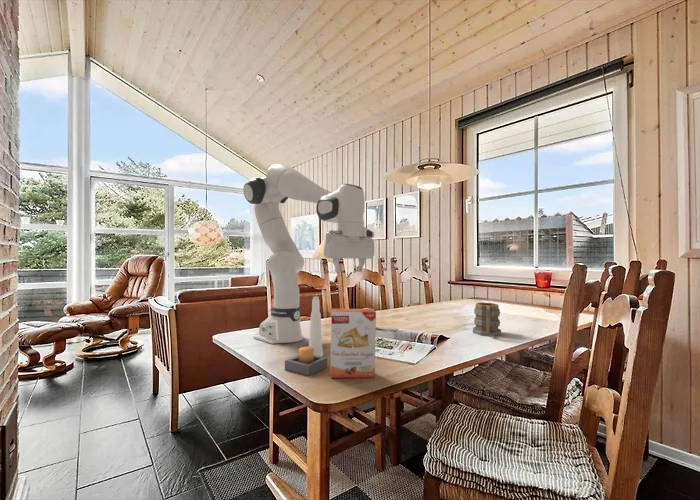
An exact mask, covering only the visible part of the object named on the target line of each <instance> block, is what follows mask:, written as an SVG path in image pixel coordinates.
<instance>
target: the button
mask: <svg viewBox="0 0 700 500" xmlns="http://www.w3.org/2000/svg"><path fill="white" fill-rule="evenodd" d="M298 355H299V362H301V363H311V362H313V361H314V348H312V347H309V346H301V347H300V348H298Z"/></svg>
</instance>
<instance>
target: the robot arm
mask: <svg viewBox="0 0 700 500" xmlns="http://www.w3.org/2000/svg"><path fill="white" fill-rule="evenodd" d="M243 196H244V197H245V200H246V201H247V202H248V203H249V204H251V205H254V215H255V218H256V223H257V225H258V227H259V230H260V233H261V235H262V238H263V240H264V243H265V244H266V245H267V246H268V248H269V249H270V251H271V252H272V255H270V256H269V258H268V259H267V268H268V270H269V273H270V276H271V280H272V286H273V307H272V308H271V307H270V308H269V312H270V315H269V316H268V317H267V318H266V319H265V320H263V321H262V322H261V323H260V324H259V326H258V327H259V328H258V332H257V333H255V334H254V335H253V337H252V338H253V339H255V340H260V341H262V342H265V343H268V344H272V345H273V344H286V343H287V344H288V343H297V342H299V341H302V340H304V337H303V334H302V328H301V319H300V317H301V306H300V287H299V285H298V281H297V280H298V279H297V274H298V273H300V271H302V269H303V268H304V265H305V259H304V257H303V256H302V255H303V254H301V253H300V250H299V249H298V247H297V245H296V243H295V242H294V240H293V239H292V237H291V235H290V232H289V230H288V227H287V225H286V223H285V220H284V218H283V215H282V213H281V210H280V204H285V203H286V201H287V200H288V199H292V200H294V201H301V202H308V203H313V204H316V208H315V209H316V211H315V212H316V214H317V216H318V218H319V219H320V220H322V221H324V222H326V223H333V224H336V223H337V230H334V229H333V230H332V229H331V230H329V231H328V232H326V234H325V240H324V241H325V242H324V248H323V256H324V258H326V259H332V263H333V266H334V268H335V269H334V272H335V273H342V270H343V267H342V266H341V265H340V264H339V263H340V262H341V259H357V260H358V262H359V263H358V265H357V266H355V271H356V272H359V273H361V272H363V267H364V265H365V264H366V259H367V260H368V259H369V260H371V259H373V258H374V256H375V241H374V239H373V238H375V232H374V231H373V230H371V229H369V228H368V227H366V226H365V225H364V224H365V222H364V212H365V193H364V189H363V188H362V187H361V186H360V185H356V184H351V183H344V184H341V185H340V186H339V188H337V189H336V190H335V191H333V192H331V191H329V190H327V189H325V188H323V187H321V186H320V185H319V184H317V183H316V182H314V181H313V180H311V179H310V178H308V177H307V176H305V175H304V174H303V173H302V172H300V171H298V170H297V169H294V168H293V167H291V166H288V165H285V164H283V163H282V164H281V163H275V164H272V165H271V166H269V168H268V169H267V171H266V176H261V177H259V176H257V177H254V178H251V179H249V180H247V181H246V182H245V184H244V185H243Z"/></svg>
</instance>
